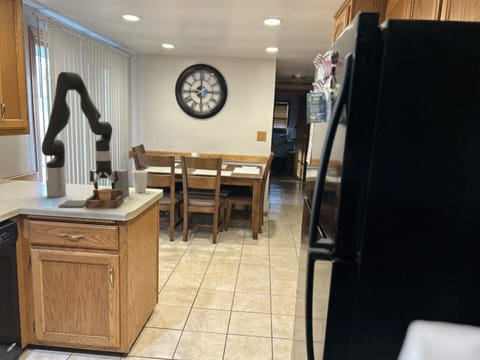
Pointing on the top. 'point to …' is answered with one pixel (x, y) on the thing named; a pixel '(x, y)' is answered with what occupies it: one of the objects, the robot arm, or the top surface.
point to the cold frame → (97, 203)
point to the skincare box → (122, 182)
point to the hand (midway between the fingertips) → (105, 189)
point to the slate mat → (73, 204)
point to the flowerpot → (105, 194)
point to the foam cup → (140, 180)
